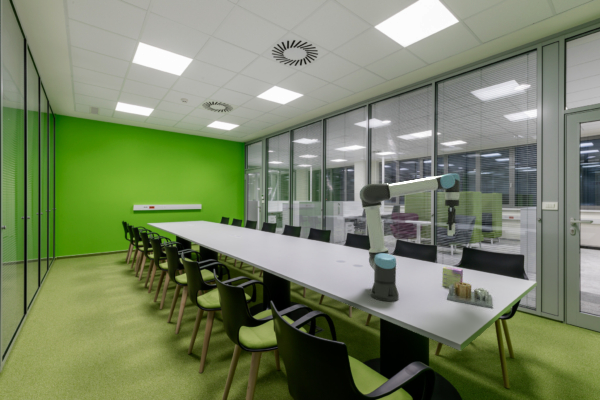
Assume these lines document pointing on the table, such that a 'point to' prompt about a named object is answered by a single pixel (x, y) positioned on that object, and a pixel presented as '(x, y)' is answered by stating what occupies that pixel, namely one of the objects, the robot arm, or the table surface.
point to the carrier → (472, 297)
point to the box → (451, 276)
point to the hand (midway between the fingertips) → (451, 234)
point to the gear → (463, 289)
